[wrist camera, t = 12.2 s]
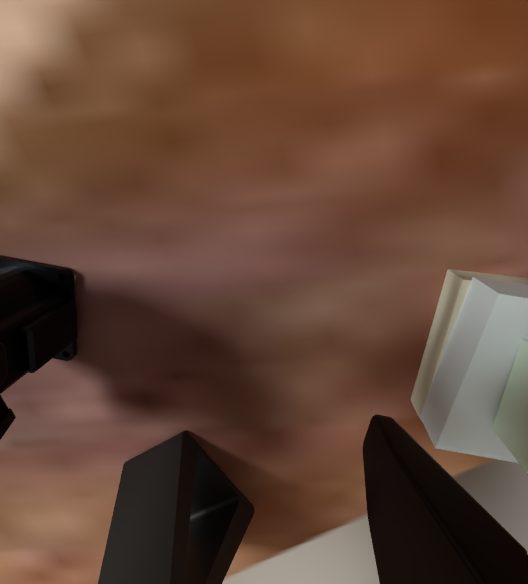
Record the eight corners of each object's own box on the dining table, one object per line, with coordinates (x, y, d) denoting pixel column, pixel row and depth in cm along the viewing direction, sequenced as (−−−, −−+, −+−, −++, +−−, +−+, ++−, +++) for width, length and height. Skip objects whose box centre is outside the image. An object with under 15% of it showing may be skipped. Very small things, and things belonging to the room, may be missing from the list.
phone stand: (255, 508, 28) (226, 742, 16) (196, 532, 29) (133, 761, 18) (185, 428, 26) (97, 636, 14) (126, 459, 27) (5, 668, 16)
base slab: (407, 394, 24) (419, 419, 21) (443, 266, 20) (462, 279, 18) (545, 411, 23) (574, 439, 21) (604, 283, 20) (645, 299, 18)
